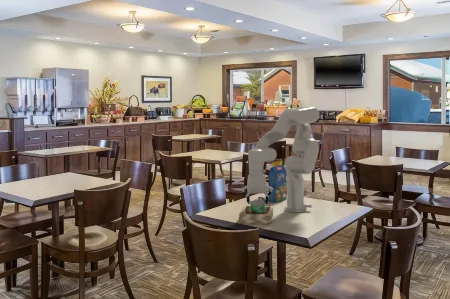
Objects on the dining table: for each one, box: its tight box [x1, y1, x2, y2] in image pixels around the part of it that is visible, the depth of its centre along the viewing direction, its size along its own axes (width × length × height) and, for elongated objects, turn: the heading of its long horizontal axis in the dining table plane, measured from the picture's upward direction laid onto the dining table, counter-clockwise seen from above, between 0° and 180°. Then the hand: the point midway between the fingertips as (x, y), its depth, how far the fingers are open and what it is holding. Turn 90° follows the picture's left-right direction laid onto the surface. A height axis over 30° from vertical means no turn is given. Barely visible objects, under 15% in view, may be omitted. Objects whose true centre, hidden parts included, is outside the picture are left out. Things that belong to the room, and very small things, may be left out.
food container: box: [249, 196, 266, 215], centre depth 233 cm, size 12×6×10 cm, turn 153°
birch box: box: [238, 205, 274, 226], centre depth 234 cm, size 16×20×5 cm
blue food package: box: [267, 160, 287, 203], centre depth 277 cm, size 6×12×25 cm, turn 140°
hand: (257, 203), depth 234 cm, fingers open, 9 cm apart
